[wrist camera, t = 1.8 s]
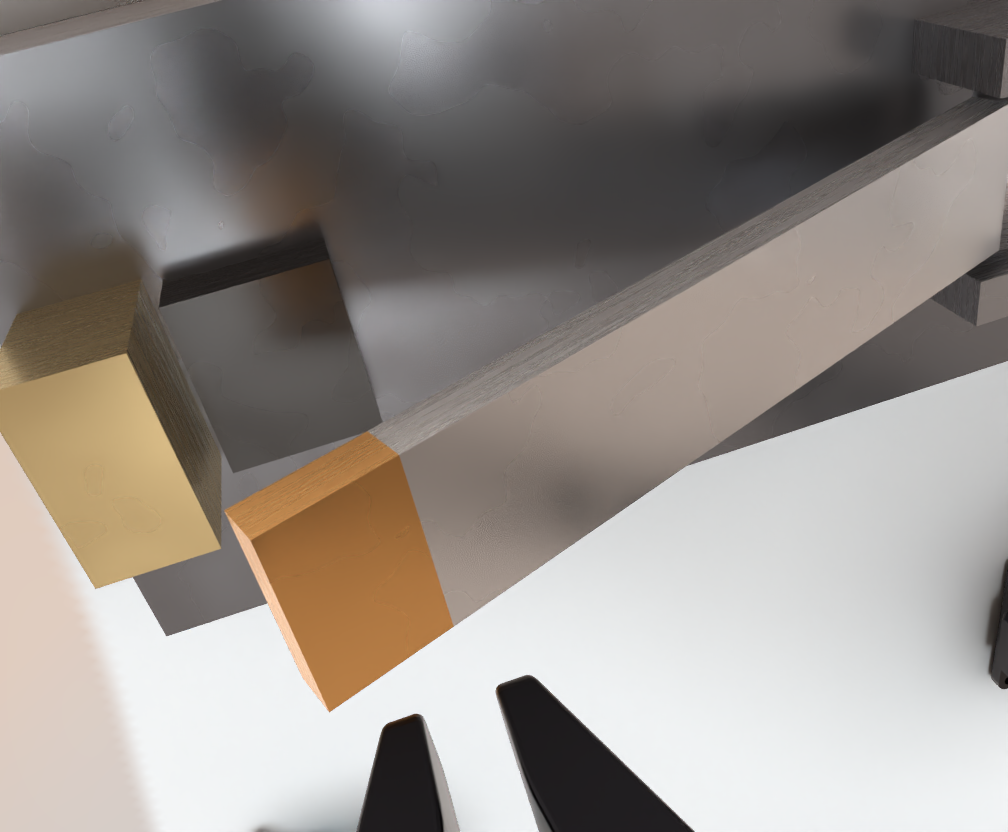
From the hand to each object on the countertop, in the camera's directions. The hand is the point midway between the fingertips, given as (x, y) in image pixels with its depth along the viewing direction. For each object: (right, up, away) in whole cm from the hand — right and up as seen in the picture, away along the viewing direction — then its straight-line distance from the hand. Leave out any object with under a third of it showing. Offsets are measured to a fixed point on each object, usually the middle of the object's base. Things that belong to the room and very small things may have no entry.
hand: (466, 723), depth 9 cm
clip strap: (+4, +5, +6) cm, 8 cm away
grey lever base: (+1, +8, +11) cm, 14 cm away
